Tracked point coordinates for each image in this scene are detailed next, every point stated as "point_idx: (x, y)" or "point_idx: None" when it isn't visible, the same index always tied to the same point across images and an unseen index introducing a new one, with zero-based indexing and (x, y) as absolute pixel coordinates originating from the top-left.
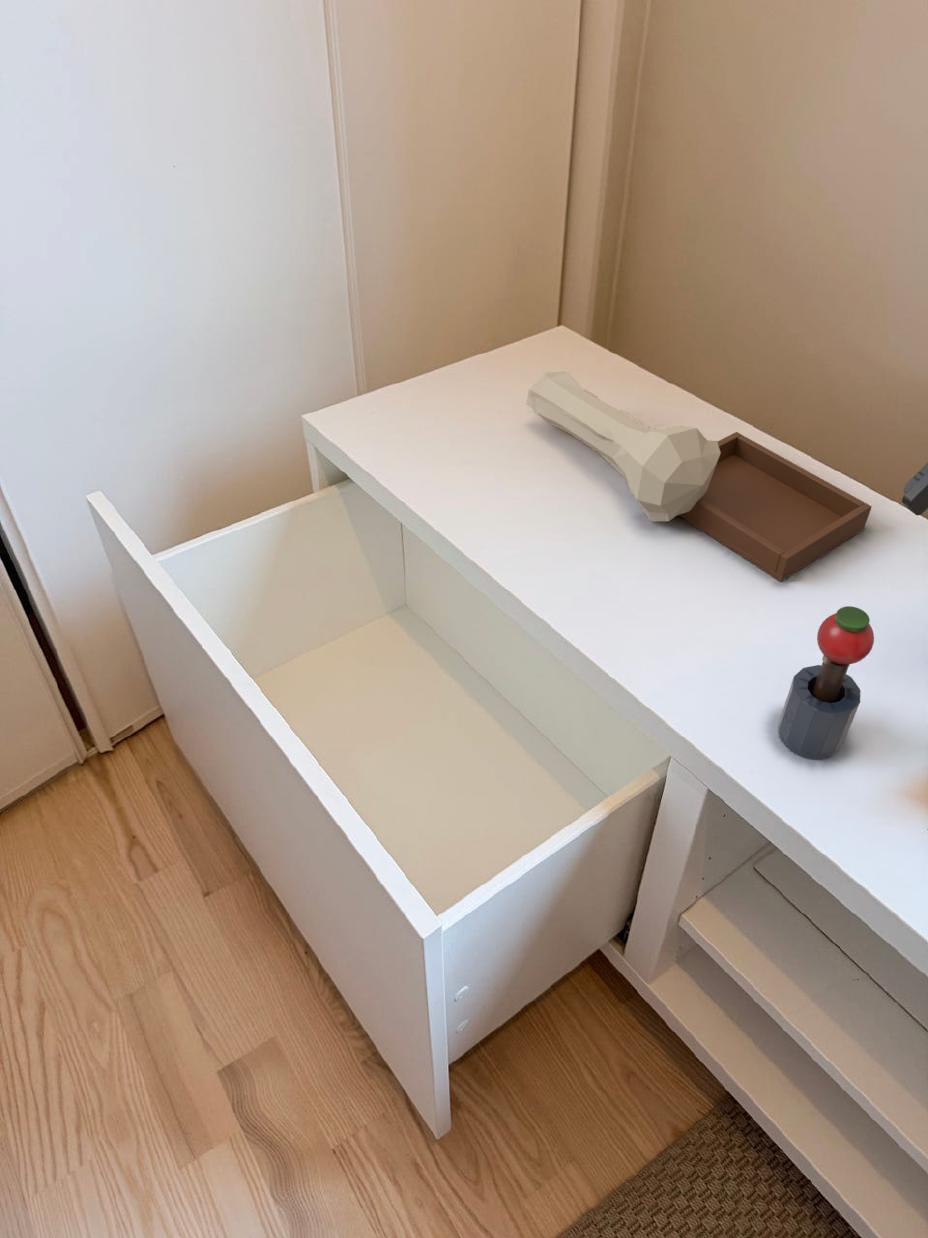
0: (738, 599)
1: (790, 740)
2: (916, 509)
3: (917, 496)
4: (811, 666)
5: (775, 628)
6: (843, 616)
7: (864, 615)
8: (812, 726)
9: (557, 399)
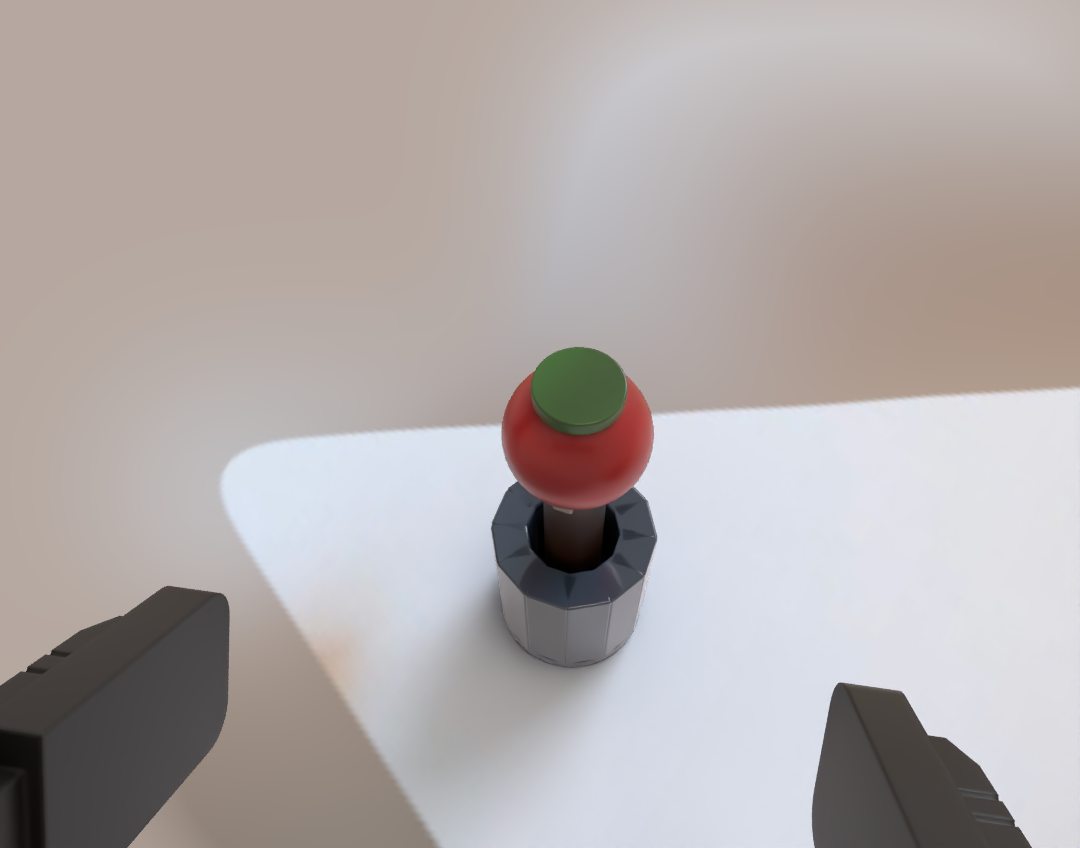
0: (1049, 808)
1: None
2: (824, 769)
3: (851, 714)
4: (650, 556)
5: None
6: (596, 367)
7: (564, 412)
8: None
9: None
